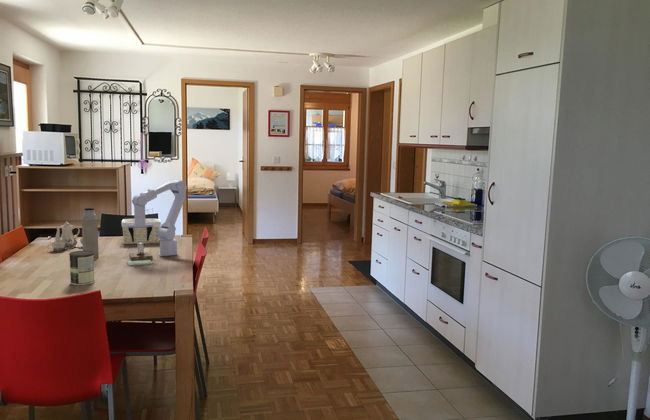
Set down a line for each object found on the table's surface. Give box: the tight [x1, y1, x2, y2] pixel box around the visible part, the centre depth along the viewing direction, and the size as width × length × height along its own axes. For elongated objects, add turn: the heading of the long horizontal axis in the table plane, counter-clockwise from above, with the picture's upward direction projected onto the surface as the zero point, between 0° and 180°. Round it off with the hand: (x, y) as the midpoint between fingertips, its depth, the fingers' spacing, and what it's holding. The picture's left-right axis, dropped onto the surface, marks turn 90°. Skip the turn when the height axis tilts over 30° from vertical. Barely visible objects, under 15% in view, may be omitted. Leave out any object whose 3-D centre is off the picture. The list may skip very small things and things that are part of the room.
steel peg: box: [137, 243, 145, 256], centre depth 296 cm, size 3×3×9 cm
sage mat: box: [126, 260, 153, 267], centre depth 287 cm, size 12×9×1 cm
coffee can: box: [68, 250, 95, 286], centre depth 245 cm, size 10×10×14 cm
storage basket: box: [120, 218, 162, 245], centre depth 344 cm, size 24×16×15 cm
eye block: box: [128, 251, 154, 261], centre depth 297 cm, size 11×11×2 cm
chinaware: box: [47, 220, 83, 252], centre depth 322 cm, size 28×17×17 cm, turn 148°
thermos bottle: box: [81, 207, 100, 260], centre depth 295 cm, size 8×8×28 cm
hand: (140, 241), depth 296 cm, fingers open, 7 cm apart
